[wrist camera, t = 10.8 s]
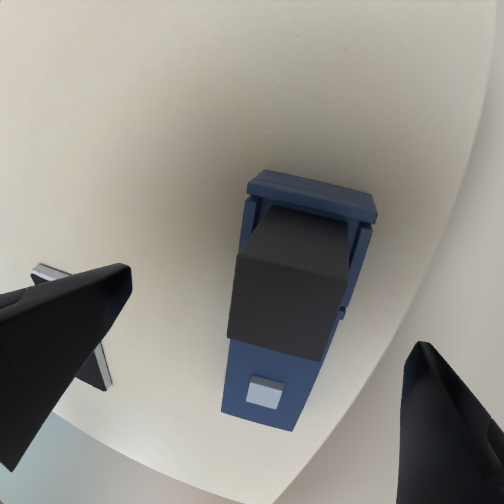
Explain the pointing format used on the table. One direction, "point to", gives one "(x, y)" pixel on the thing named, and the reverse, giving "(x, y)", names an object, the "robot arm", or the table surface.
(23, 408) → the robot arm
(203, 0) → the table surface
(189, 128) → the table surface
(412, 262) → the table surface
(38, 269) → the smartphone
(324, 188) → the blue long open box
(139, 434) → the table surface
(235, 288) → the block
